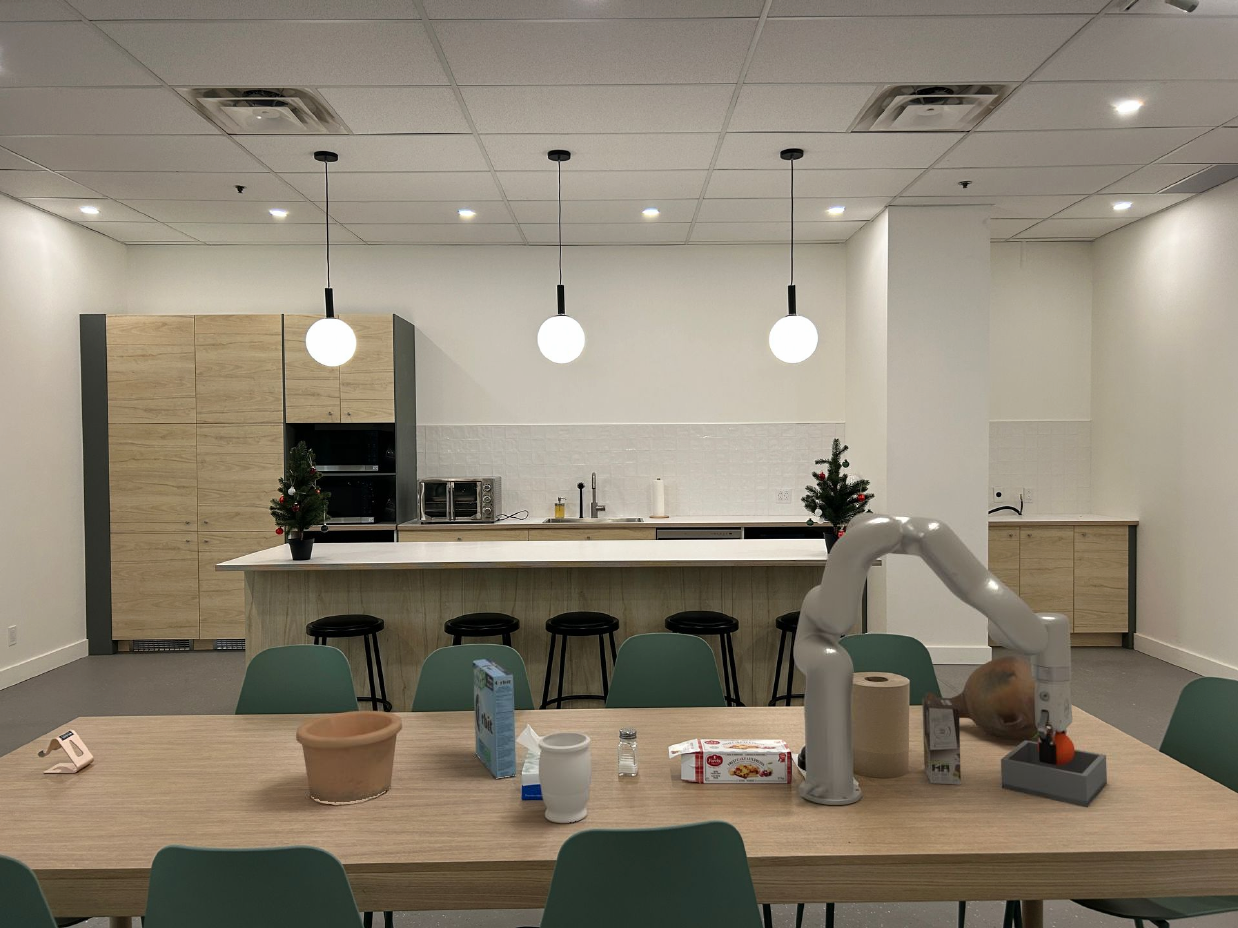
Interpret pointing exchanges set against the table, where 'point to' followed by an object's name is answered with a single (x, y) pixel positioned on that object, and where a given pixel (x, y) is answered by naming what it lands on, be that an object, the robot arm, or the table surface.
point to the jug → (1000, 699)
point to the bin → (1054, 775)
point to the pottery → (349, 754)
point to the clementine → (1062, 748)
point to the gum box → (494, 717)
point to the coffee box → (941, 740)
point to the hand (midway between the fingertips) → (1053, 757)
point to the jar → (565, 775)
